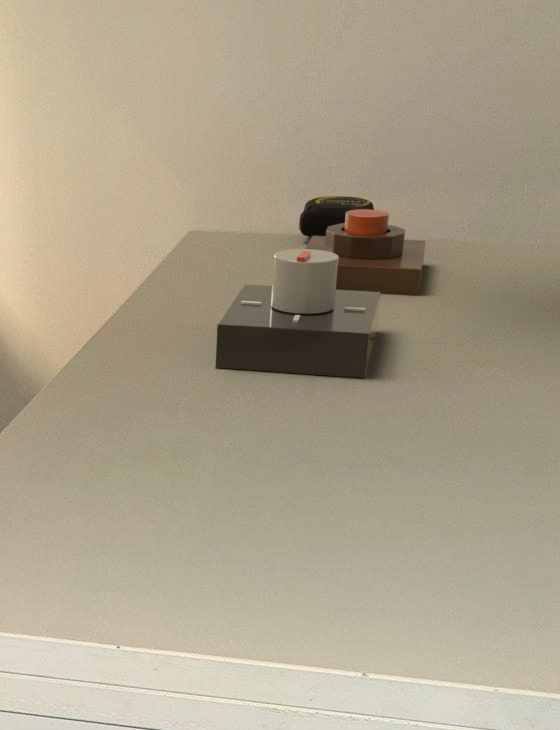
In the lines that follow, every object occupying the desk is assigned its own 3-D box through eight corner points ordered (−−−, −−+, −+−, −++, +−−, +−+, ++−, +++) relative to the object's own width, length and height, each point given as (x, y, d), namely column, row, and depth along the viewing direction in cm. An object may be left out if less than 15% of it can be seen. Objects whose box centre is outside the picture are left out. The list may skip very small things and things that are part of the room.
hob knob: (277, 297, 94) (281, 242, 92) (339, 301, 92) (344, 246, 91) (264, 311, 90) (268, 255, 88) (328, 316, 89) (333, 259, 87)
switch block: (310, 260, 119) (313, 214, 117) (422, 265, 117) (428, 219, 115) (294, 289, 109) (298, 240, 107) (417, 296, 107) (423, 246, 105)
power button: (345, 229, 113) (347, 208, 112) (388, 231, 112) (390, 210, 111) (342, 237, 110) (343, 215, 109) (385, 239, 109) (387, 217, 108)
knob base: (242, 324, 99) (244, 282, 97) (376, 332, 97) (380, 289, 95) (215, 368, 89) (217, 321, 87) (364, 378, 86) (369, 331, 85)
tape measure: (295, 245, 125) (298, 205, 123) (308, 232, 131) (311, 193, 129) (367, 250, 123) (371, 209, 121) (377, 236, 129) (381, 196, 127)
